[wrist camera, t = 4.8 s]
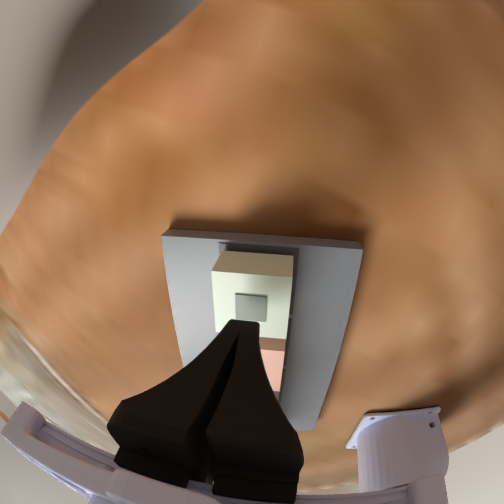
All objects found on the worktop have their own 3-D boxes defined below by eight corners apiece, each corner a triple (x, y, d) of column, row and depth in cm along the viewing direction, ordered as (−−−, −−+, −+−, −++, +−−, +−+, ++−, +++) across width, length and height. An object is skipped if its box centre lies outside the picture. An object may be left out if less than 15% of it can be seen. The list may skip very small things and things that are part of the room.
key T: (286, 325, 18) (284, 352, 16) (282, 366, 20) (279, 392, 17) (225, 319, 18) (216, 345, 16) (228, 360, 20) (220, 385, 18)
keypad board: (359, 241, 17) (363, 250, 15) (313, 421, 25) (312, 431, 24) (168, 228, 18) (160, 236, 17) (199, 408, 27) (195, 418, 25)
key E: (293, 255, 16) (292, 278, 14) (288, 313, 18) (286, 340, 15) (222, 250, 16) (210, 271, 14) (225, 307, 18) (215, 332, 16)
